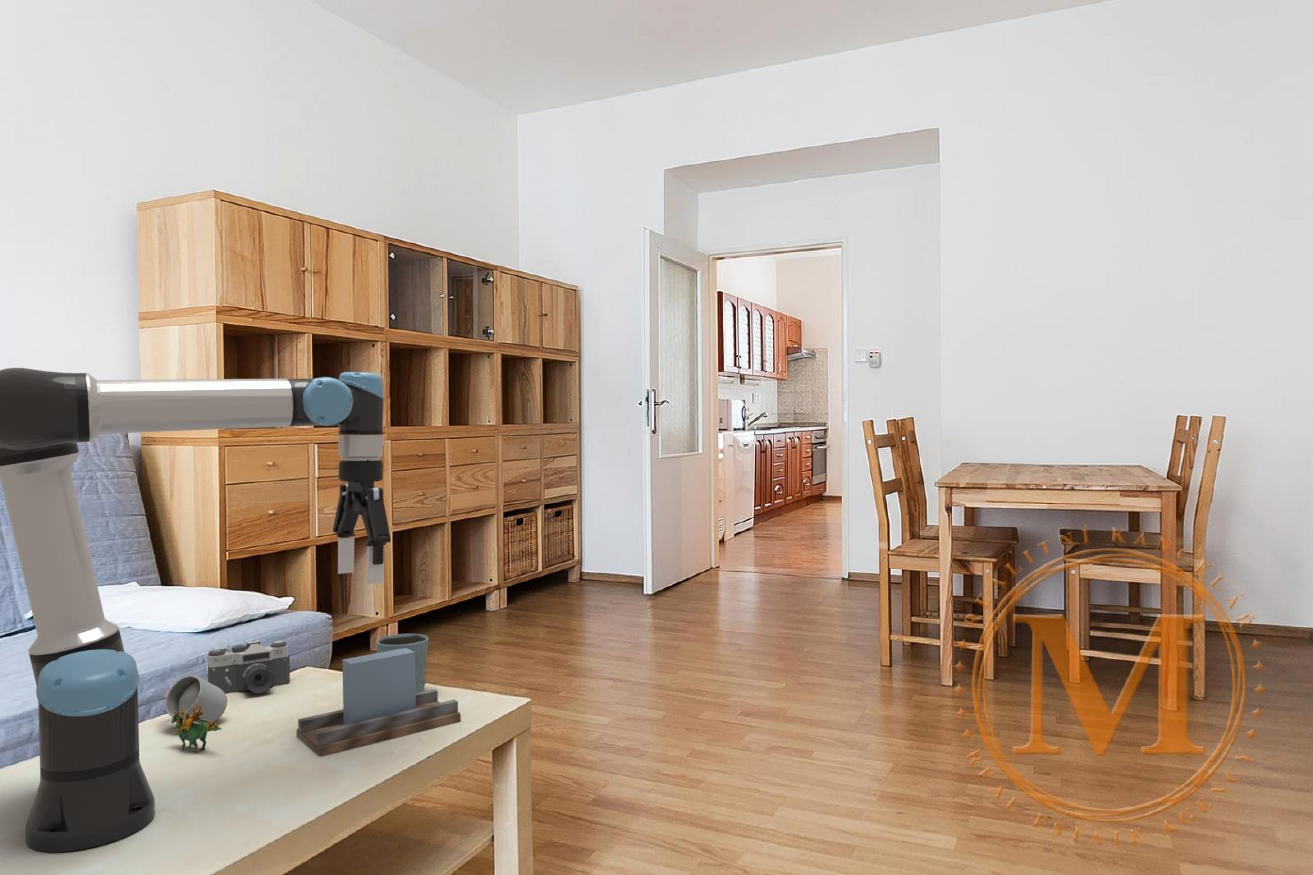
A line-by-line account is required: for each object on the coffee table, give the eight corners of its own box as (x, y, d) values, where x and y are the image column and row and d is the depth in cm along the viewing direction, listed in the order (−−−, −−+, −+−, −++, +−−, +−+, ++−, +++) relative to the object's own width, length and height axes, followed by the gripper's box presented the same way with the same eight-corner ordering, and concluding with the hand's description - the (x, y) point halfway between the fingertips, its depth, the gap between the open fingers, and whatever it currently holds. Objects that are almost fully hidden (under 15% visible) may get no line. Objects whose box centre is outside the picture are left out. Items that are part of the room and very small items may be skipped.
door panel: (351, 731, 154) (350, 664, 154) (343, 725, 158) (342, 659, 157) (415, 716, 162) (414, 652, 162) (406, 711, 165) (405, 647, 165)
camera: (212, 706, 174) (211, 656, 174) (207, 693, 182) (206, 645, 182) (296, 692, 182) (295, 645, 182) (287, 680, 191) (286, 635, 191)
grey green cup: (368, 704, 174) (367, 644, 174) (390, 688, 184) (390, 632, 184) (416, 706, 173) (415, 645, 172) (436, 690, 183) (435, 633, 182)
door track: (319, 756, 147) (319, 736, 147) (296, 737, 156) (296, 717, 156) (460, 721, 164) (460, 702, 164) (432, 705, 173) (431, 688, 173)
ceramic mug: (210, 735, 162) (238, 699, 164) (177, 724, 156) (207, 687, 158) (182, 705, 168) (209, 671, 170) (148, 694, 161) (178, 658, 163)
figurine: (180, 744, 154) (179, 697, 153) (229, 753, 149) (228, 706, 149) (164, 750, 151) (163, 703, 151) (214, 760, 146) (213, 711, 146)
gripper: (411, 461, 149) (410, 585, 149) (354, 456, 168) (354, 567, 168) (368, 461, 144) (367, 590, 144) (315, 457, 163) (314, 570, 163)
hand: (360, 578), depth 156 cm, fingers open, 13 cm apart
